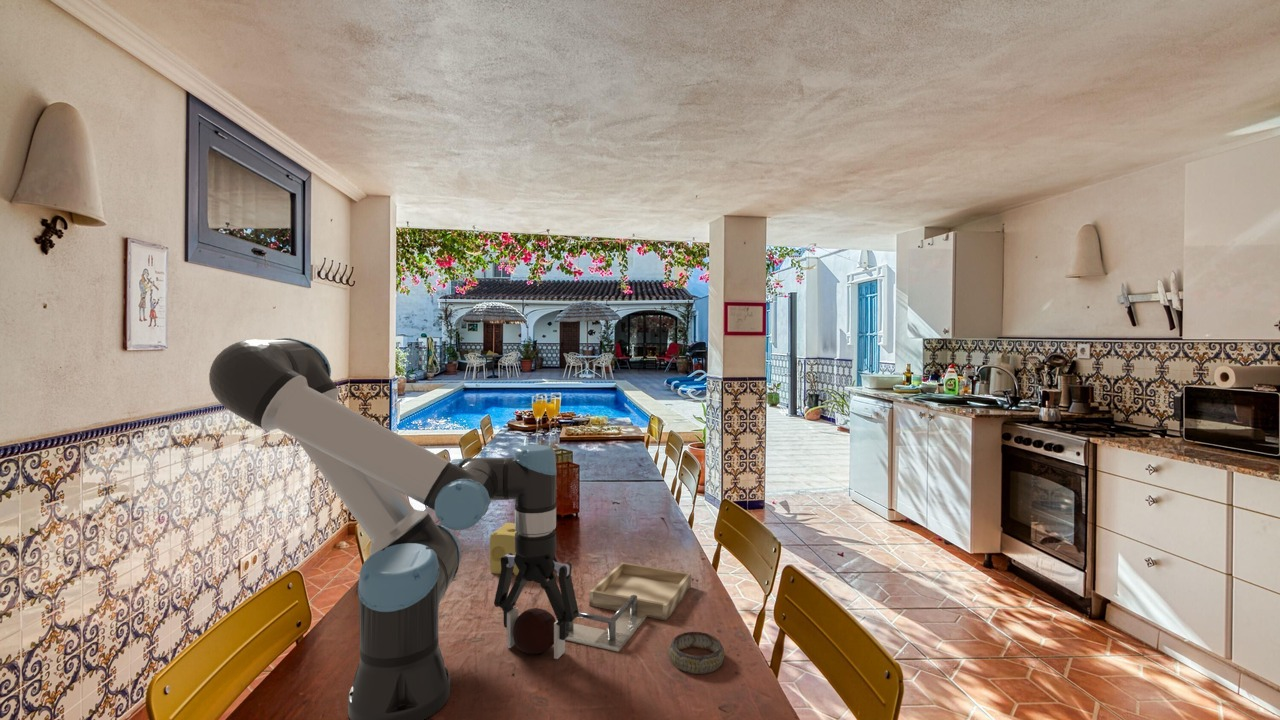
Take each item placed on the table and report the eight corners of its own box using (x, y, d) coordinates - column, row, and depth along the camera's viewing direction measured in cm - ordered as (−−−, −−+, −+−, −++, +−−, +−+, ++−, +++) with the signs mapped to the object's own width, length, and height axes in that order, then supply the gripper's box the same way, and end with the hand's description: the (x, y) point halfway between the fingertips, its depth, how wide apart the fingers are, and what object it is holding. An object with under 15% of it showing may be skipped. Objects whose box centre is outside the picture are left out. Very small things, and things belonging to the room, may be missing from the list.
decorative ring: (736, 664, 107) (698, 640, 115) (736, 646, 106) (698, 624, 114) (693, 683, 100) (657, 657, 109) (694, 664, 100) (657, 640, 108)
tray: (666, 620, 122) (666, 605, 122) (589, 605, 128) (589, 591, 128) (690, 586, 138) (691, 573, 138) (621, 575, 145) (621, 562, 145)
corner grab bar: (618, 651, 110) (618, 627, 110) (554, 637, 115) (554, 613, 114) (649, 614, 125) (649, 592, 124) (591, 602, 130) (591, 581, 129)
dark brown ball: (535, 634, 116) (535, 595, 116) (568, 650, 110) (568, 610, 110) (501, 651, 110) (501, 610, 109) (534, 669, 104) (534, 626, 104)
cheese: (528, 578, 143) (528, 537, 142) (487, 574, 145) (487, 533, 144) (544, 561, 153) (544, 523, 152) (505, 558, 155) (505, 520, 155)
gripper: (598, 531, 108) (598, 651, 109) (497, 517, 116) (497, 629, 117) (579, 545, 101) (579, 673, 102) (473, 528, 109) (473, 647, 110)
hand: (535, 649), depth 110 cm, fingers open, 9 cm apart
